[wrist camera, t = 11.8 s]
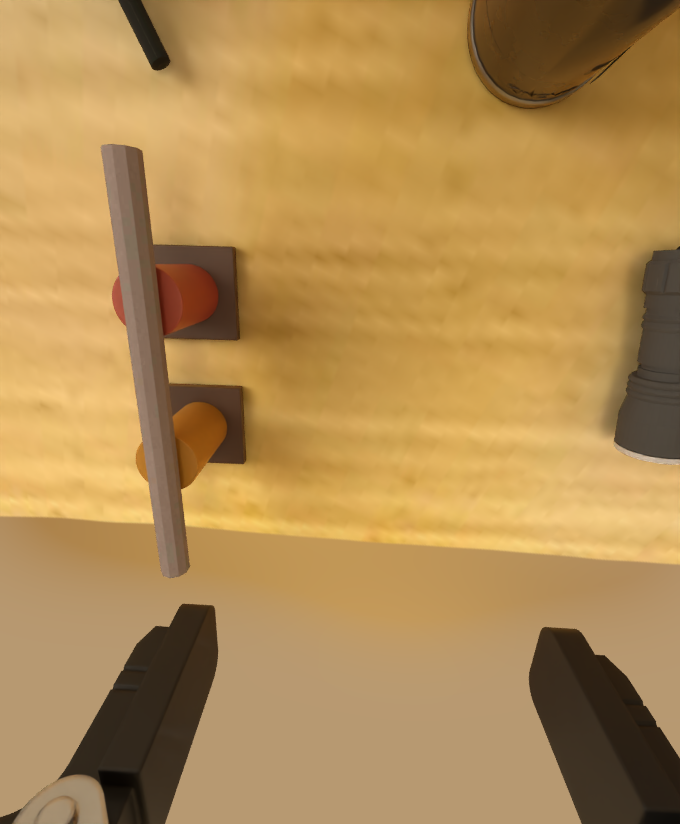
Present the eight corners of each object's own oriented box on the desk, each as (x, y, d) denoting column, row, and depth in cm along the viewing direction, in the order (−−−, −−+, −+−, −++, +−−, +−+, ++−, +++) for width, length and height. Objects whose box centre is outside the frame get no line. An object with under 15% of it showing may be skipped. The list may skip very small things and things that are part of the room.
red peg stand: (144, 244, 32) (81, 239, 25) (235, 247, 32) (199, 242, 25) (155, 336, 35) (100, 356, 27) (240, 338, 35) (208, 360, 27)
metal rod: (168, 559, 32) (156, 577, 31) (114, 153, 23) (92, 143, 22) (193, 560, 32) (182, 578, 30) (148, 153, 23) (130, 144, 21)
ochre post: (160, 383, 36) (109, 414, 29) (242, 386, 36) (212, 418, 28) (169, 457, 38) (124, 504, 31) (246, 460, 38) (219, 508, 31)
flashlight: (630, 246, 31) (684, 243, 26) (706, 242, 31) (775, 238, 26) (600, 438, 36) (640, 466, 31) (665, 435, 36) (716, 464, 31)
